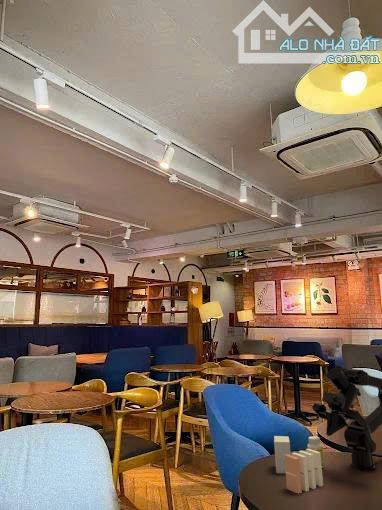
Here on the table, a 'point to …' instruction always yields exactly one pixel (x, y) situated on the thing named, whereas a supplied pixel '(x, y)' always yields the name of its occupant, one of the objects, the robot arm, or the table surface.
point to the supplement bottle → (316, 447)
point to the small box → (281, 452)
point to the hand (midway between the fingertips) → (327, 435)
